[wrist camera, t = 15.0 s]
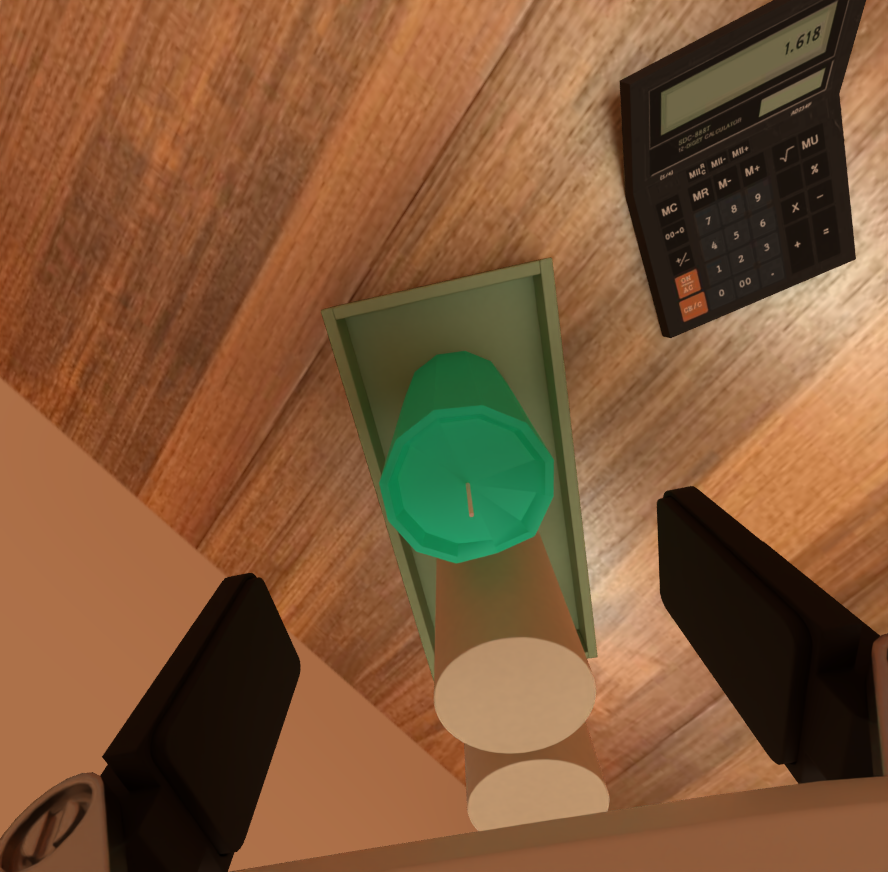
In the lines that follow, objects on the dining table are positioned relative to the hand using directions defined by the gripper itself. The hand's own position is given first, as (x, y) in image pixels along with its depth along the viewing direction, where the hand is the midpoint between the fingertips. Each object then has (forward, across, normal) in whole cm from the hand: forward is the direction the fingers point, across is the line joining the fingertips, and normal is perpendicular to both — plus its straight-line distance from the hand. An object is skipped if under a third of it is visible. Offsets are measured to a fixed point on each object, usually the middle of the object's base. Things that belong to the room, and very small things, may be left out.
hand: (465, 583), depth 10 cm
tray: (+16, -1, +6) cm, 17 cm away
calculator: (+16, -16, -8) cm, 23 cm away
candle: (+15, -1, 0) cm, 15 cm away
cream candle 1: (+15, -1, +8) cm, 17 cm away
